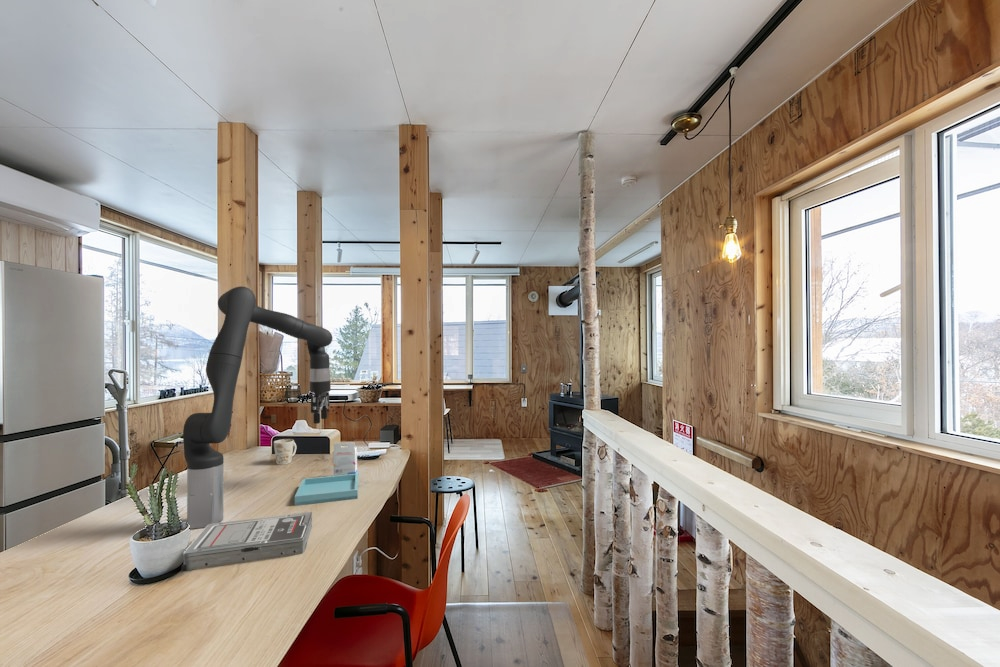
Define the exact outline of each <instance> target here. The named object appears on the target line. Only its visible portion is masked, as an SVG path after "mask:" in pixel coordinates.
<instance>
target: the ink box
mask: <svg viewBox="0 0 1000 667" xmlns="http://www.w3.org/2000/svg"><path fill="white" fill-rule="evenodd" d="M344 446H345V447H344ZM357 450H358V447H357V446H356V443H355V441H353V442H352V441H351V442H334V443H333V452H332V453H333V455H332V456H333V476H338V475H348V474H358V451H357Z"/></svg>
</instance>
